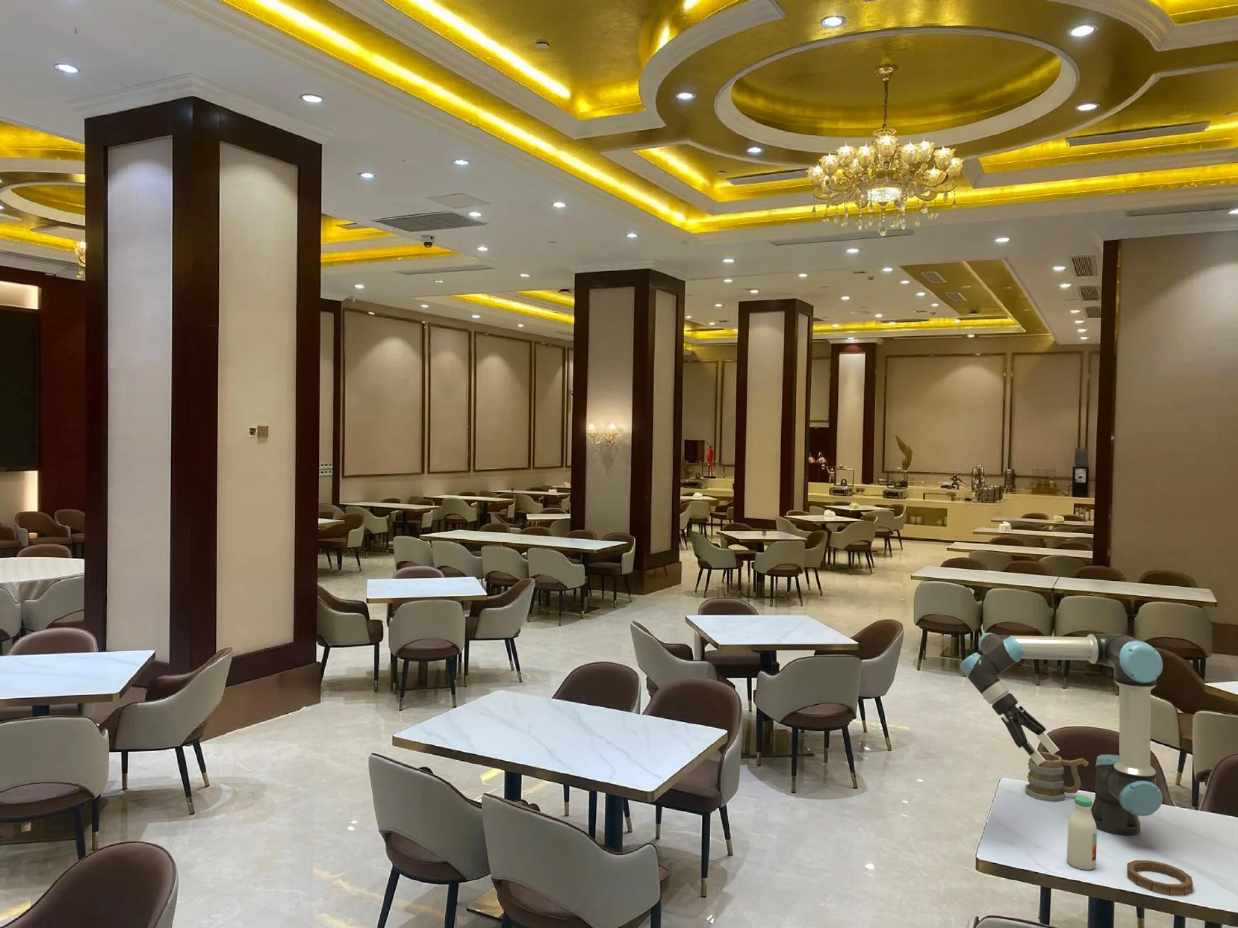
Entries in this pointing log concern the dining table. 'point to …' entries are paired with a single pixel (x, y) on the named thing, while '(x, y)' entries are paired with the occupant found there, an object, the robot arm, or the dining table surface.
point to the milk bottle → (1082, 836)
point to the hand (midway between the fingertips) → (1048, 757)
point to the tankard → (1052, 777)
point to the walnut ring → (1159, 887)
